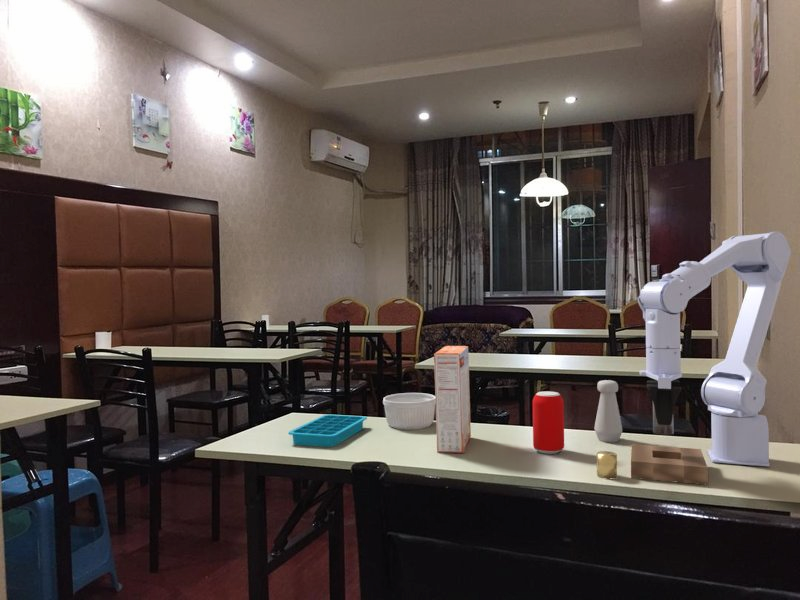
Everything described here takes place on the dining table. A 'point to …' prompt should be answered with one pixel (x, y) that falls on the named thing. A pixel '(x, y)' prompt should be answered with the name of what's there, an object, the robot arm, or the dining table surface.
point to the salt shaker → (608, 413)
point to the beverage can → (548, 422)
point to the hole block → (668, 464)
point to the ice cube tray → (327, 430)
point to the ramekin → (409, 410)
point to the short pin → (606, 464)
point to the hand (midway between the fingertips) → (663, 422)
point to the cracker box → (452, 399)
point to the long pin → (661, 426)
